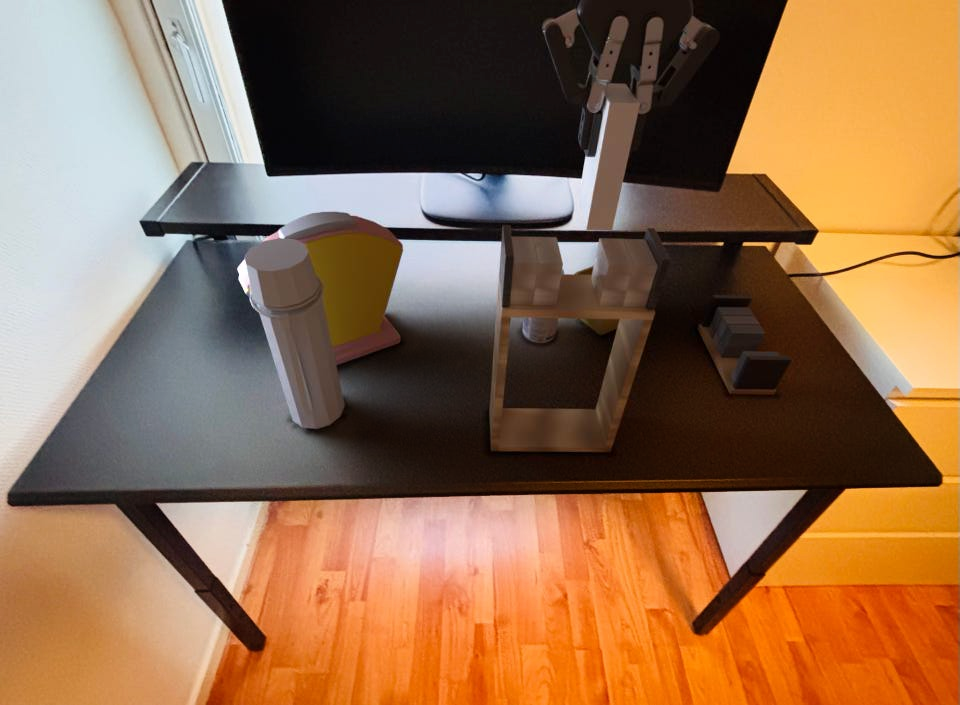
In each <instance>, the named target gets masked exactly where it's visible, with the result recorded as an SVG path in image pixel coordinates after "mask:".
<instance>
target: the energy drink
mask: <svg viewBox="0 0 960 705" xmlns="http://www.w3.org/2000/svg"><path fill="white" fill-rule="evenodd" d="M561 274H565V270H564V269H563V268H562V273H561ZM558 322H559V318H523V323H522V334H523V336H524V337H525V338H526V339H527V340H528V341H529V342H533V343H537V344H545V343H549V342H550V341H552V340H553V339H554V338H555V337H556V332H557V327H558Z"/></svg>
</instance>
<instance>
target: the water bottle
mask: <svg viewBox="0 0 960 705" xmlns="http://www.w3.org/2000/svg"><path fill="white" fill-rule="evenodd" d="M243 257H244V259H245V263H246V268H247V274H248V279H249V284H250V289H251V291H250V298H249V302H250V304H251V306H252V308H253V309H254V310H255V311H256V312H257V313H259V316H260V320H261V323H262V327H263V328H264V333H265V335H266V339H267V343H268V346H269V349H270V353H271V355H272V358H273V361H274V365H275V368H276V371H277V374H278V379H279V381H280V385H281V388H282V390H283V394H284V397H285V401H286V403H287V407H288V410H289V413H290V416H291V420H292V422H294V423H296V424H297V425H298V426H300V427H301V428H303V429H316V430H317V429H320V428H324V427H327V426H331V425H332V424H333V423H334V422H336V420H338V419H339V418H340V417H341V416H342V413H343V411H344V408H345V401H344V397H343V391H342V387H341V382H340V377H339V372H338V367H337V365H336V362H335V357H334V352H333V347H332V342H331V337H330V333H329V328H328V323H327V318H326V313H325V308H324V303H323V298H322V296H323V291H324V285H323V283H322V282H321V280H320V278H319V277H317V276H316V273H315V270H314V267H313V264H312V261H311V258H310V255H309V252H308V249H307V247H306V244H304V243H302V242H299V241H297V240H295V239H284V238H278V239H273V240H267V241H264V240H263V242H262V241H261V242H259V243H257V244H255V245H253V246H251V247H250V248H249V249H248V250H247V251H246V253H245V254H244V256H243ZM320 290H321V291H320ZM253 300H255V303H256V304H257V305H256V304H255V303H254V301H253Z"/></svg>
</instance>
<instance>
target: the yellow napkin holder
mask: <svg viewBox="0 0 960 705" xmlns="http://www.w3.org/2000/svg"><path fill="white" fill-rule="evenodd" d="M278 238H284V239H295V240H297V241H299V242H302V243H304V244H306V247H307V249H308V252H309V255H310V258H311V261H312V264H313V267H314V270H315V273H316V276H317V277H319V278H320V280H321V282H322V283H323V285H324V291H323V296H322V298H323V303H324V308H325V313H326V318H327V323H328V328H329V333H330V337H331V342H332V347H333V352H334V357H335V362H336V366H338V365H341V364H344V363H347V362H349V361H352V360H355V359H358V358H361V357H364V356H366V355H370V354H372V353H374V352H378V351H380V350H383V349H386V348H389V347H392V346H395V345H397V344H400V342H401V335H400V334H399V332H398V331H397V330H396V329H395V327H394V326H393V324H392V323H391V322H390V321H389V320H388V318H387V317H386V311H387V309H388V305H389V302H390V301H389V300H390V298H391V294H392V290H393V287H394V284H395V280H396V276H397V273H398V269H399V267H400V263H401V259H402V256H403V253H404V245H403V243H402V242H401V241H400V240H399V239H398V238H397V237H396V236H395V235H394V233H393V232H392V231H390V229H388V228H387V227H385V226H384V225H381V224H379V223H378V222H375V221H373V220H371V219H367V218H364V217H361V216H358V215H351V214H350V213H348V212H343V211H319V212H312V213H309V214H306V215H303V216H301V217H298V218H296V219H293V220H292V221H289V222H288V223H286V224H285V225H283V226H282V227H280V228H279V229H278V230H277V231H275V232H274V233H272V234H270V235H269V236H267V237H266V238H264V239H263V241H267V240H273V239H278ZM263 241H261V242H263ZM237 272H238V274H239V275H238V281H239V283H240V285H241V287H242V289H243V291H244V293H245V295H246V296H247V297H248V298H249V299H250V291H251V289H250V284H249V279H248V274H247V268H246V263H245V258H244V259H243V260H242V262H241V263H240V264H239V265H238V266H237ZM320 291H321V290H320ZM253 301H254V303H255V300H253ZM255 305H256V306H257V304H256V303H255Z"/></svg>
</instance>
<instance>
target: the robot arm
mask: <svg viewBox="0 0 960 705" xmlns="http://www.w3.org/2000/svg"><path fill="white" fill-rule="evenodd" d="M693 13H694V4H693V0H576V3H575V6H574V8H573V9H572V10H569V11H567V12H566V13H563V14H562V15H560V16H557V17H556V18H554V17H548V18H546V19H545V20H543V23H542V24H541V30H542V33H543V36H544V39H545V42H546V45H547V47H548V50H549V54H550V57H551V60H552V63H553V66H554V69H555V72H556V74H557V78H558V80H559V83H560V86H561V90H562V92H563V94H564V96H565V100H566V101H567V103H568V104H571V105H578V106H579V107H581V116H580V122H579V128H578V136H577V139H578V140H577V141H578V144H579V147H580V149H581V150H582V151H583V152H584V155H585V157H595V155H596V149H597V144H598V138H599V133H600V127H601V121H602V116H603V114H602V112H601V107H602V104H603V101H604V97H605V94H606V90H607V87H608V84H609V83H612V79H613V76H614V72H615V69H616V67H618V66H621V65H625V64H628V65H630V84H629V85H630V86H629V89H630V91H631V92H632V93H633V95H634V96H635V98H636V99H637V100H638V102H639V103H640V106H639V111H638V115H637V120H636V124H635V129H634V133H633V138H632V143H631V147H630V152H629V156H628V159H631V156H632V152H637V151H638V149H639V148H640V147H641V142H642V138H643V134H644V129H645V124H646V121H647V117H648V115H649V113H650V112H651V111H652V110H653V109H656V108H658V107H662V106H663V107H670V106H671V105H672V104H674V103H675V101H676V100H677V98H678V97H679V96H680V94H681V93H682V91H683V90H684V89H685V87H686V86H687V85H688V84H689V82H690V80H692V78H693V76H694V75H695V74H696V73H697V71H698V70H699V69H700V67H701V66H702V65H703V63H704V62H705V60H706V59H707V58H708V56H709V55H710V54H711V53H712V51H713V50H714V48H715V47H716V46H717V44H718V43H719V41H720V38H721V34H720V32H719V30H717V29H716V28H714V27H712V26H711V25H710V24H708V23H706V22H703V21H701V20H699V19H698V18H697V17H695V16H694V15H693ZM579 26H580V28H581V30H582V33H583V34H584V37H585V38H586V41H587V43H588V45H589V47H590V49H591V51H592V52H591V56H590V60H589V64H588V71H587V77H586V80H585V84H582V83H580V82H579V81H578V79H577V75H576V72H575V68H574V66H573V62H572V60H571V56H570V53H569V49H570V48H572V47H573V45H574V44H575V40H576V37H575V31H576V30H577V27H579ZM681 32H682V34H681ZM680 34H681V36H680V38H679V42H678V46H679V49H678V51H677V52H676V53H675V55H674V57H673V58H672V60H671V61H670V62H669V64H668V65H667V66H666V68H665V69H664V70H663V72H662V74H661V75H660V77H659V78H658V80H657V74H658V66H659V58H660V56H661V55H662V54H663V52H664V51H665V50H666V49H667V48H668V47H669V46H670V45H671V44H672V42H673V41H674V40H675V39H676V38H677V37H678V36H679V35H680Z"/></svg>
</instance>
